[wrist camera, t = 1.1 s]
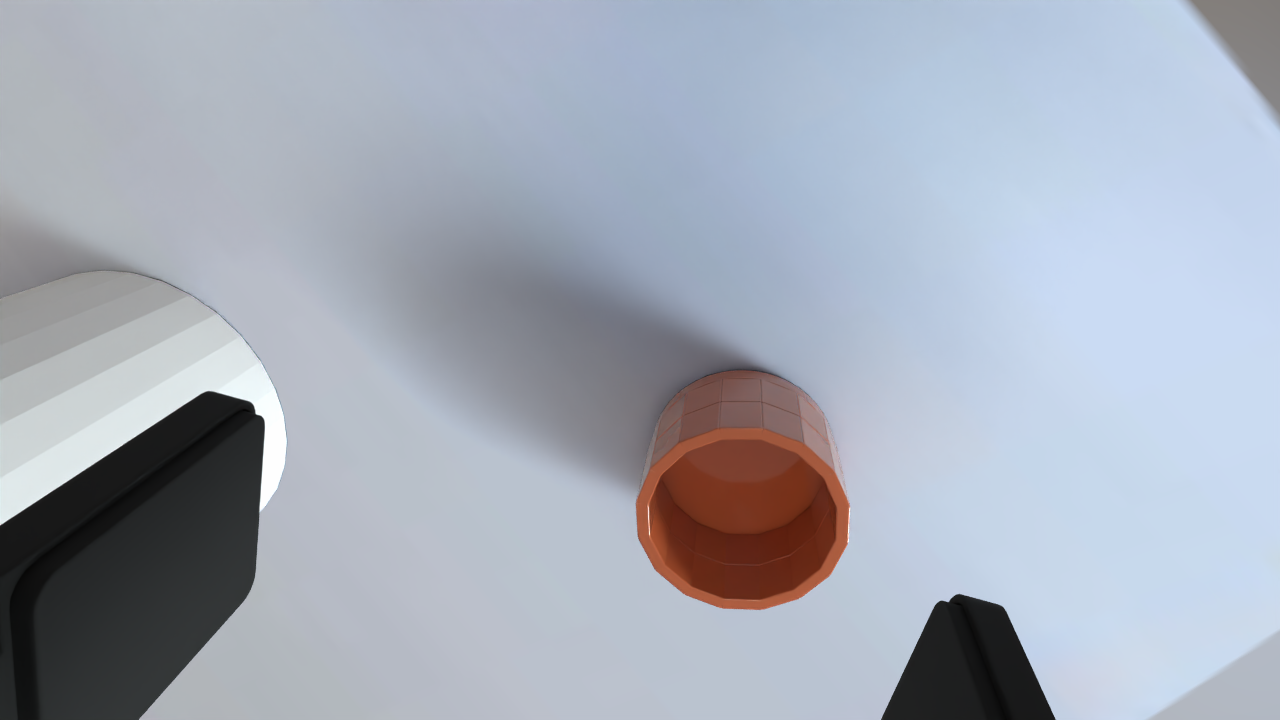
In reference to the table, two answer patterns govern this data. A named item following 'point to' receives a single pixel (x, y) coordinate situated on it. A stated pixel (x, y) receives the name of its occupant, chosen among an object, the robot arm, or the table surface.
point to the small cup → (743, 492)
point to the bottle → (112, 376)
